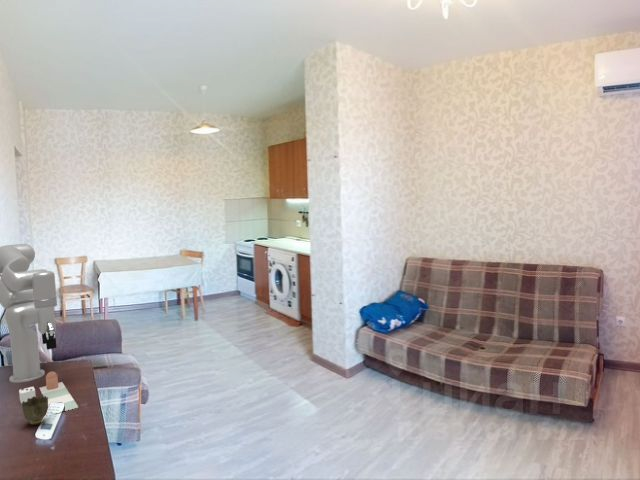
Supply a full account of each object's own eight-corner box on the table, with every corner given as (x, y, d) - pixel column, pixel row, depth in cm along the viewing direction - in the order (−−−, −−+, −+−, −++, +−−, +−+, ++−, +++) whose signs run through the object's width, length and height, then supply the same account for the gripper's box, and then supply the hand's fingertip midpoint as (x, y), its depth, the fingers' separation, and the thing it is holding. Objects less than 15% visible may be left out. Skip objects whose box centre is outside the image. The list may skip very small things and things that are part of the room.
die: (19, 401, 163) (18, 388, 163) (34, 397, 166) (33, 385, 166) (21, 405, 160) (20, 392, 159) (36, 401, 163) (34, 389, 162)
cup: (37, 429, 142) (34, 406, 141) (17, 428, 143) (15, 404, 142) (55, 418, 149) (53, 395, 148) (36, 417, 150) (34, 394, 150)
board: (39, 388, 174) (39, 387, 174) (62, 382, 179) (62, 382, 179) (52, 415, 151) (52, 414, 151) (78, 407, 156) (78, 407, 156)
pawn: (45, 387, 174) (44, 371, 174) (57, 384, 177) (56, 369, 176) (47, 390, 171) (46, 374, 171) (59, 387, 174) (57, 371, 173)
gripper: (31, 301, 175) (35, 343, 176) (37, 308, 162) (41, 353, 163) (52, 298, 180) (56, 339, 181) (60, 304, 167) (64, 348, 168)
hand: (49, 345), depth 172 cm, fingers open, 9 cm apart
